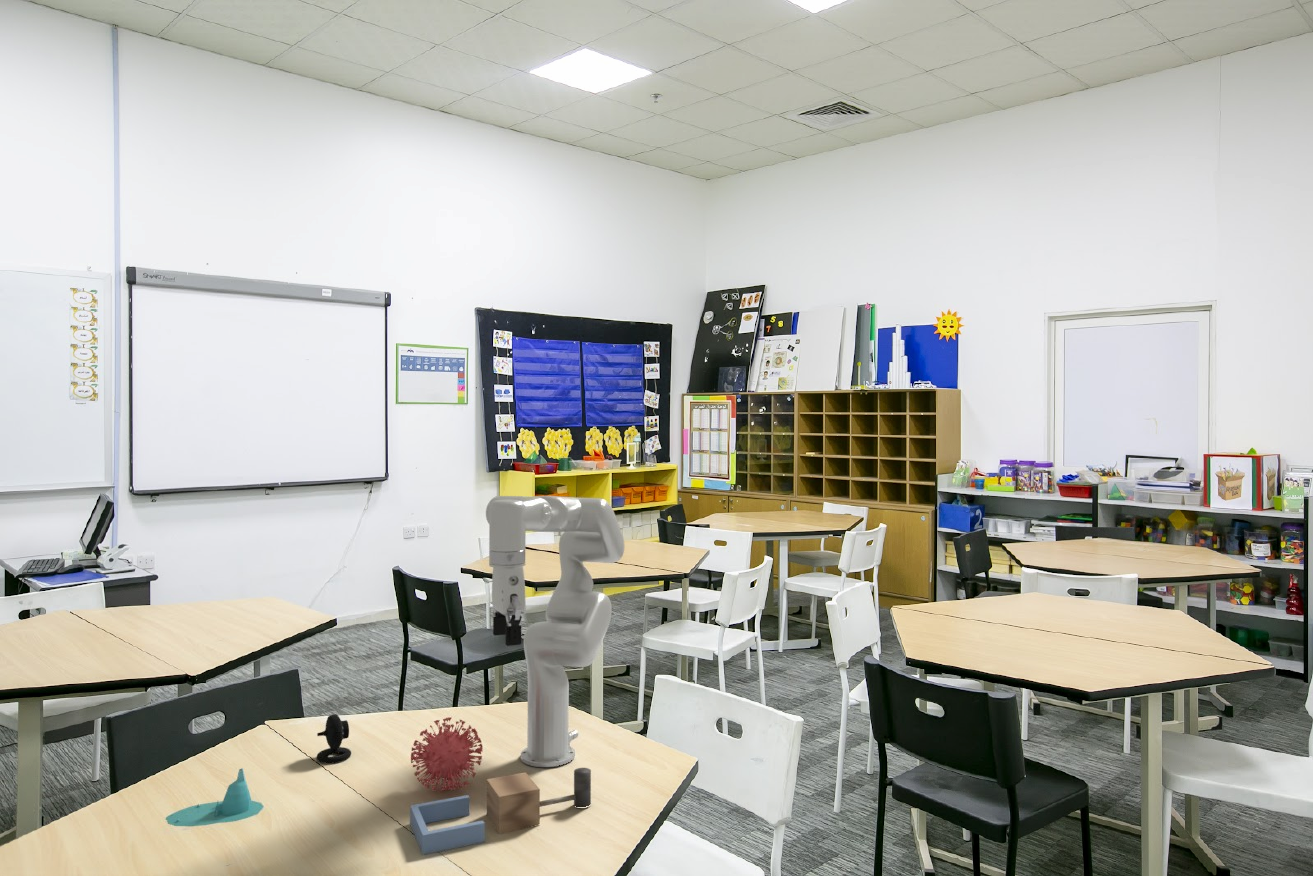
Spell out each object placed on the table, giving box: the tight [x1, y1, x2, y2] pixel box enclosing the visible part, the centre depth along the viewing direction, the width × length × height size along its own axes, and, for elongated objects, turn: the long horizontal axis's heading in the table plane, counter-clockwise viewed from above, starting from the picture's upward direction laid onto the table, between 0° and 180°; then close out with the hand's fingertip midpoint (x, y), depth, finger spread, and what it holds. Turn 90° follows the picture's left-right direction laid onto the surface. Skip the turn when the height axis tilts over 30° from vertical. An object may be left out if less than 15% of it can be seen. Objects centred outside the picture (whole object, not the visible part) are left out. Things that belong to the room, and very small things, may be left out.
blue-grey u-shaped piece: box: [409, 794, 486, 856], centre depth 159 cm, size 11×13×4 cm
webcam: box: [316, 714, 352, 764], centre depth 195 cm, size 8×8×10 cm
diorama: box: [165, 767, 264, 827], centre depth 167 cm, size 12×20×9 cm, turn 105°
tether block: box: [486, 767, 592, 835], centre depth 167 cm, size 20×9×7 cm, turn 116°
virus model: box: [410, 717, 483, 793], centre depth 178 cm, size 15×15×15 cm
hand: (506, 639), depth 177 cm, fingers open, 9 cm apart
